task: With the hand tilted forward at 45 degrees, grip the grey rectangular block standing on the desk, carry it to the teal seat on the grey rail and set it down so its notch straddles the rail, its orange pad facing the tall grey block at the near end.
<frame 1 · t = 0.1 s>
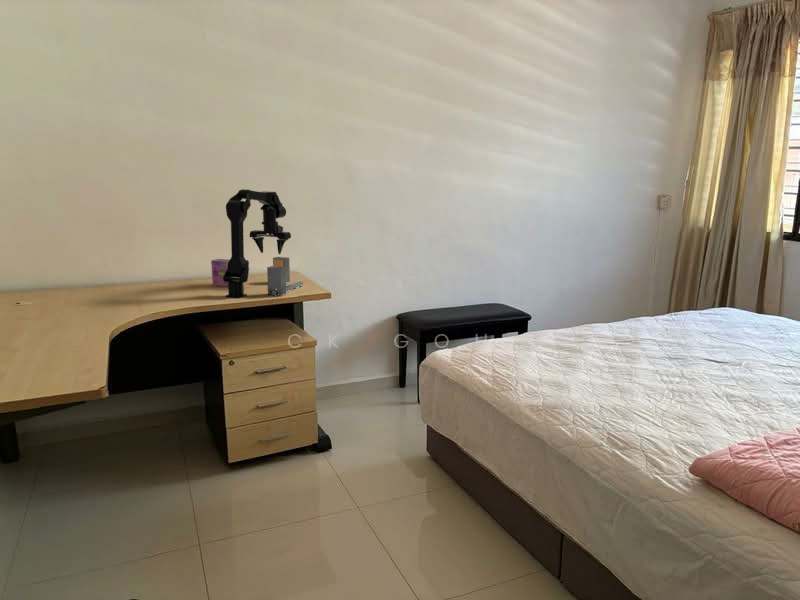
hand: (270, 253, 276), 15 cm above the table, tool pointing down, fingers open, 9 cm apart
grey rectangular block: (281, 282, 284), on the table
tall grey block: (277, 294, 258), resting in rail
box: (225, 285, 276), on the table
rail: (288, 290, 266), on the table
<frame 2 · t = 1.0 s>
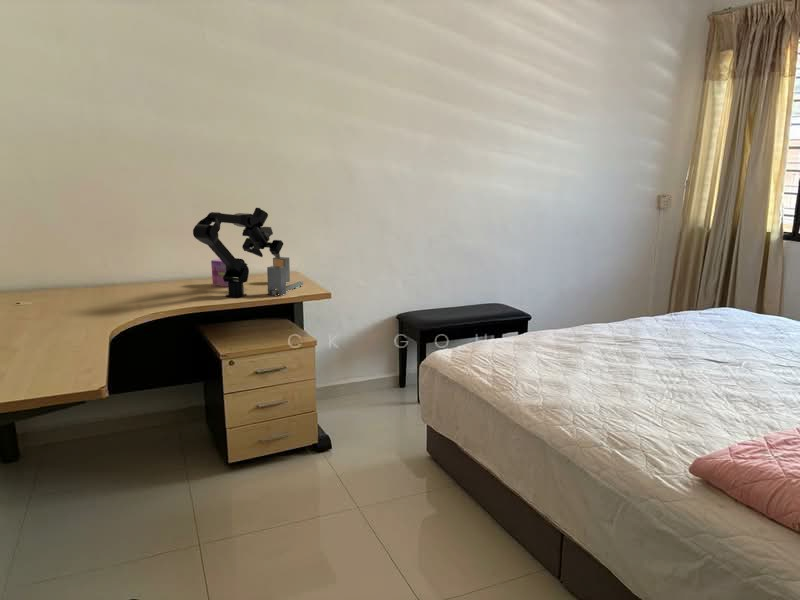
hand: (270, 257, 273), 13 cm above the table, tool tilted 45°, fingers open, 9 cm apart
nothing on the table moved.
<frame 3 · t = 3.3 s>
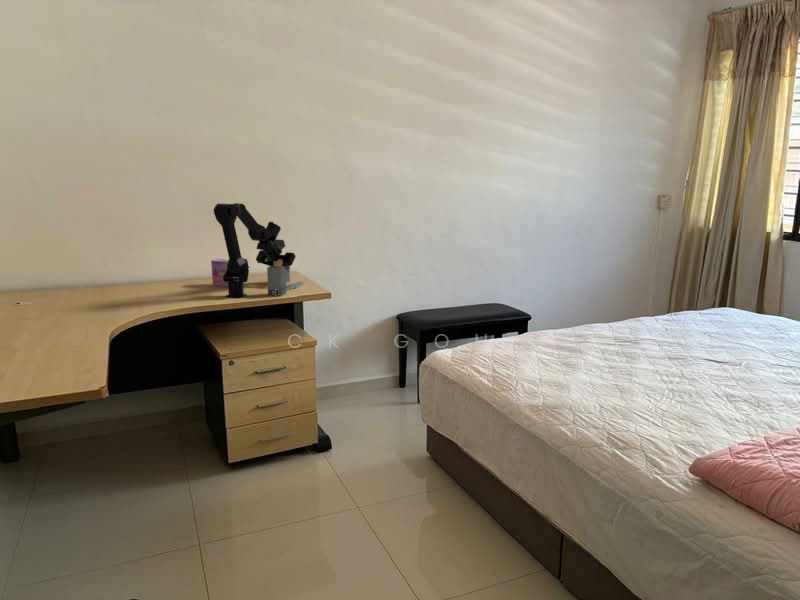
hand: (283, 268, 284), 7 cm above the table, tool tilted 45°, fingers closed on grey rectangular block, 6 cm apart
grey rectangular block: (281, 282, 284), on the table, touching gripper
everything else where it was.
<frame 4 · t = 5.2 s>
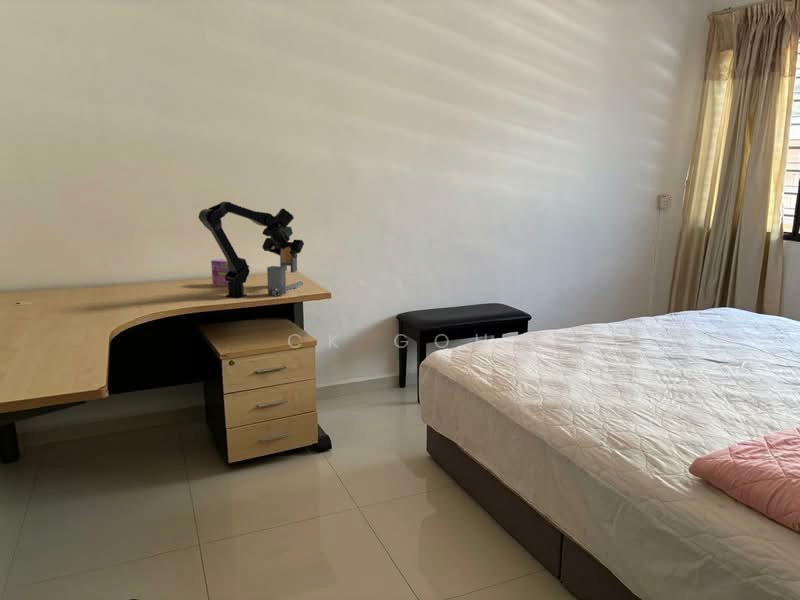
hand: (290, 256, 275), 13 cm above the table, tool tilted 45°, fingers closed on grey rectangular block, 6 cm apart
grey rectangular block: (288, 271, 275), point 7 cm above the table, touching gripper
everything else where it was.
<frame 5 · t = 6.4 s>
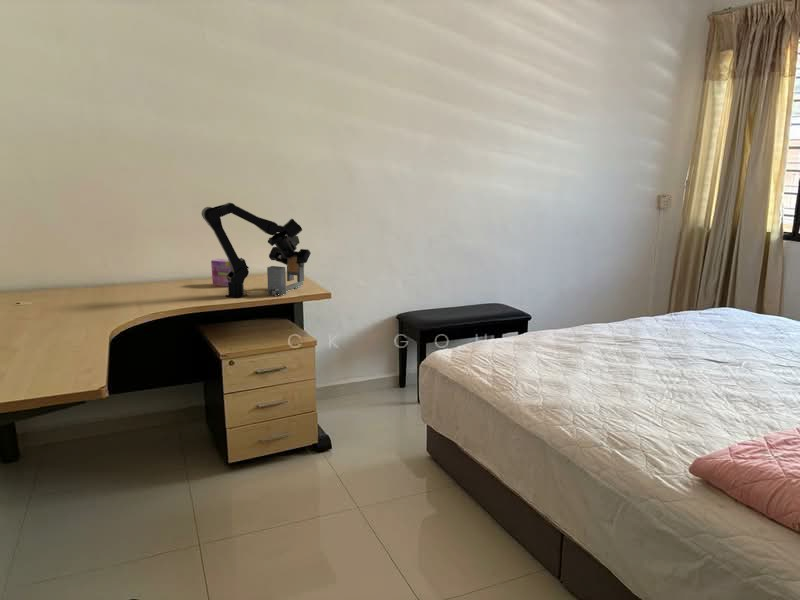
hand: (296, 266, 272), 10 cm above the table, tool tilted 45°, fingers closed on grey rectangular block, 6 cm apart
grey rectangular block: (295, 280, 272), point 3 cm above the table, touching gripper
everything else where it was.
when the fingers open (8 cm above the table, at t = 7.3 s): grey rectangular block drops 1 cm, resting in rail.
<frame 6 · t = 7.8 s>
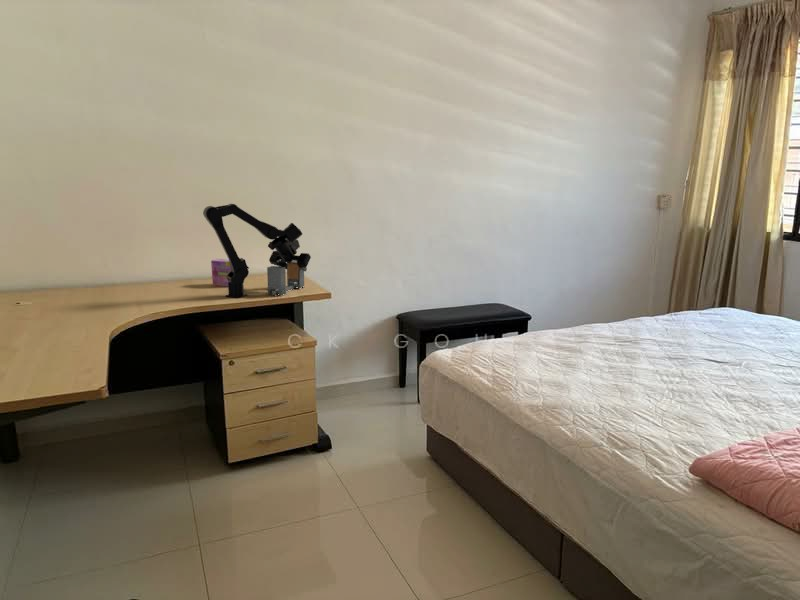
hand: (297, 269, 272), 8 cm above the table, tool tilted 45°, fingers open, 9 cm apart
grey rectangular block: (295, 287, 273), resting in rail
everything else where it was.
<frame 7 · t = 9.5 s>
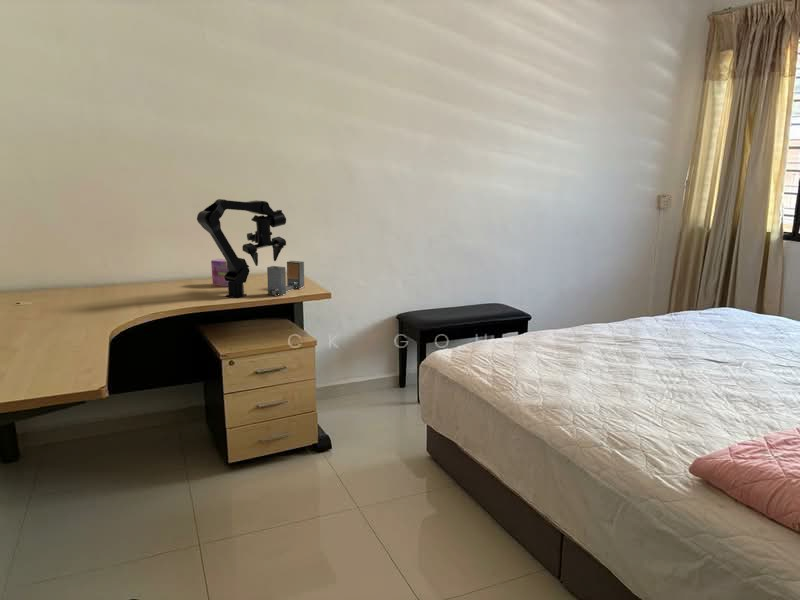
hand: (265, 263, 265), 12 cm above the table, tool pointing down, fingers open, 9 cm apart
nothing on the table moved.
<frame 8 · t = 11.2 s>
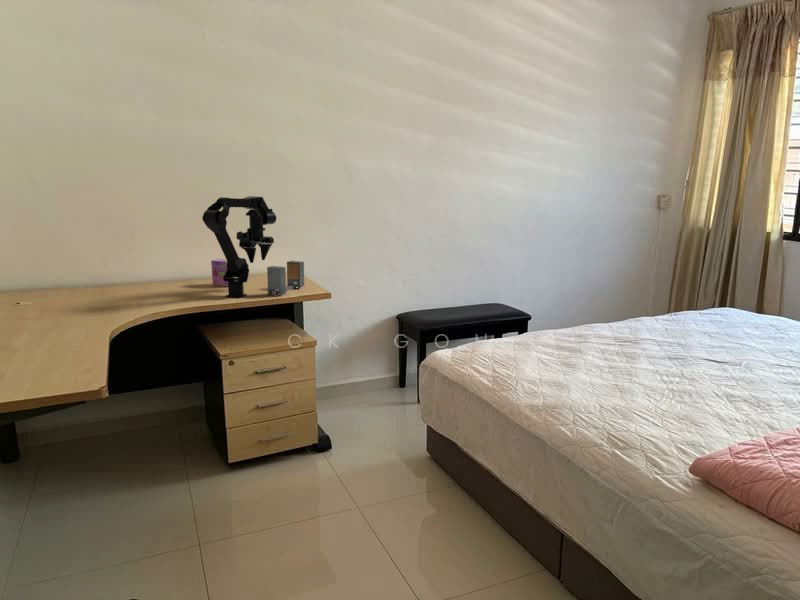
hand: (257, 261, 263), 13 cm above the table, tool pointing down, fingers open, 9 cm apart
nothing on the table moved.
at the end: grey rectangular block 0.0 cm from the target spot, resting in rail; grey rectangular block tilted 0°; the gripper is holding nothing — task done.
